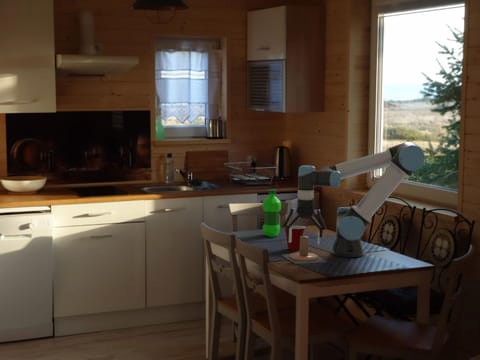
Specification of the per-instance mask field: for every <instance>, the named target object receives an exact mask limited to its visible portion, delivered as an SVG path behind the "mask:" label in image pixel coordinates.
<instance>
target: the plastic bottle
mask: <svg viewBox="0 0 480 360" xmlns="http://www.w3.org/2000/svg"><path fill="white" fill-rule="evenodd" d="M267 193H268V194H269V196H267V197H266V198H264V200H263V202H262V210H263V211H264V223H263V225H262V232H263V234H264V235H265V236H266V237H268V236H269V238H271V237H273V238H274V237H277V236H278V235H280V232H281V227H280V226H281V225H280V224H279V223H280V212H281V210H282V201H281V200H280V199H279V198H278V197H276V195H277V189H268V192H267Z"/></svg>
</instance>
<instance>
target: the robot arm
mask: <svg viewBox="0 0 480 360" xmlns="http://www.w3.org/2000/svg"><path fill="white" fill-rule="evenodd" d="M425 155H426V154H425V152H424V150H423V149H422V148H421V146H419V145H418V144H415V143H414V142H411V141H406V142H405V141H404V142H402V143H399V144H396V145H394V146H391V147H388V148H386V150H384V151H380V152H377V153H373V154H369V155H366V156H363V157H358V158H355V159H351V160H348V161H347V160H346V161H344V162H341V163H340V162H339V163H337V164H334V165H329V166H323V167H321V168H320V170H317V169H316V167H315V166H314V165H306V164H305V165H300V166H299V167H298V175H297V178H298V179H297V204H296V205H297V206H296V207H297V208H294V207H291V208H290V210H289V211H290V212H289V214H288V216H287V217H286V219H285V222H283V225H282V227H283V228H284V227H286V228H287V235H289V243H291V236H292V228H290V227H291V226H292V225H295V222H297V221H298V219H299V218H300V219H310V220H311V221H312V223H313V224H314V225H315V226H316V228H318V231H317V245H320V243H321V238H323V231H325V230H327V224H326V223H325V221H324V218H323V217H322V214H321V209H320V208H319V209H315V208H314V198H315V187H321V188H322V187H326V188H338V187H340V185H341V180H344V179H347V178H350V177H351V178H352V177H355V176H358V175H362V174H365V173H369V172H370V173H371V172H373V171H376V170H380V169H385V168H387V169H386V170H385V171H384V172H383V174H382V175H381V176H380V177H379V178H378V179H377V181H376V182H375V183H374V184H373V186H372V187H371V188H370V189H369V190H368V191H367V192H366V194H365V195H364V196H363V197H362V199H361V200H360V201H359V202H358V203H357V205H351V206H348V207H345V206H342V207H340V206H339V207H337V211H336V228H335V229H336V233H335V234H336V235H335V240H334V242H333V245H332V249H331V254H332V255H333V256H336V257H343V258H358V257H362V256H364V249H363V244H362V240H361V238H362V236H363V235H364V234H365V231H366V229H367V228H368V226H369V225H370V224H371V223H372V216H374V215H375V214H376V212H377V211H378V210H379V208H381V206H382V205H383V204H384V203H385V201H386V200H387V199H388V198H389V196H390V195H392V193H393V192H394V191H395V190H396V189H397V188H398V187H399V185H400V184H401V183H402V182H403V181H404V179H406V178H410V177H411V176H412V175H413V174H414V173H415V172H416V171H417V170H419V169H421V167H422V166H423V165H424V163H425V160H426V156H425ZM294 213H297V215H296V217H294V218H293V220H292V221H291V222H290V223H289V221H290V220H291V218H292V217H293V214H294ZM314 214H315V215H317V217H318V220H319V222H320V223H319V222H318V220H317V219H316V217H315V216H314ZM288 223H289V224H288Z"/></svg>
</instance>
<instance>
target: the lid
mask: <svg viewBox="0 0 480 360" xmlns="http://www.w3.org/2000/svg"><path fill="white" fill-rule="evenodd" d="M309 238H310V236H308V235H303V236H300V250H299V252H292V253H289V254H290V258H291V259H293V260H297V261H314V260H317V259H318V254H316V253H314V252H309V243H310V241H309V240H310V239H309Z"/></svg>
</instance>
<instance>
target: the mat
mask: <svg viewBox="0 0 480 360" xmlns="http://www.w3.org/2000/svg"><path fill="white" fill-rule="evenodd" d="M290 254H291V253H283V254H281V255H280V256H281V257H283V259H284V258H285V260H287V261H290V263H293V264H294V265H306V264H321V263H322V264H323V263H326V264H327V263H328V261H327V259H324V258H322V257H321V256H318V259H317V260H314V261H297V260H293V259H291V258H290Z"/></svg>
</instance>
